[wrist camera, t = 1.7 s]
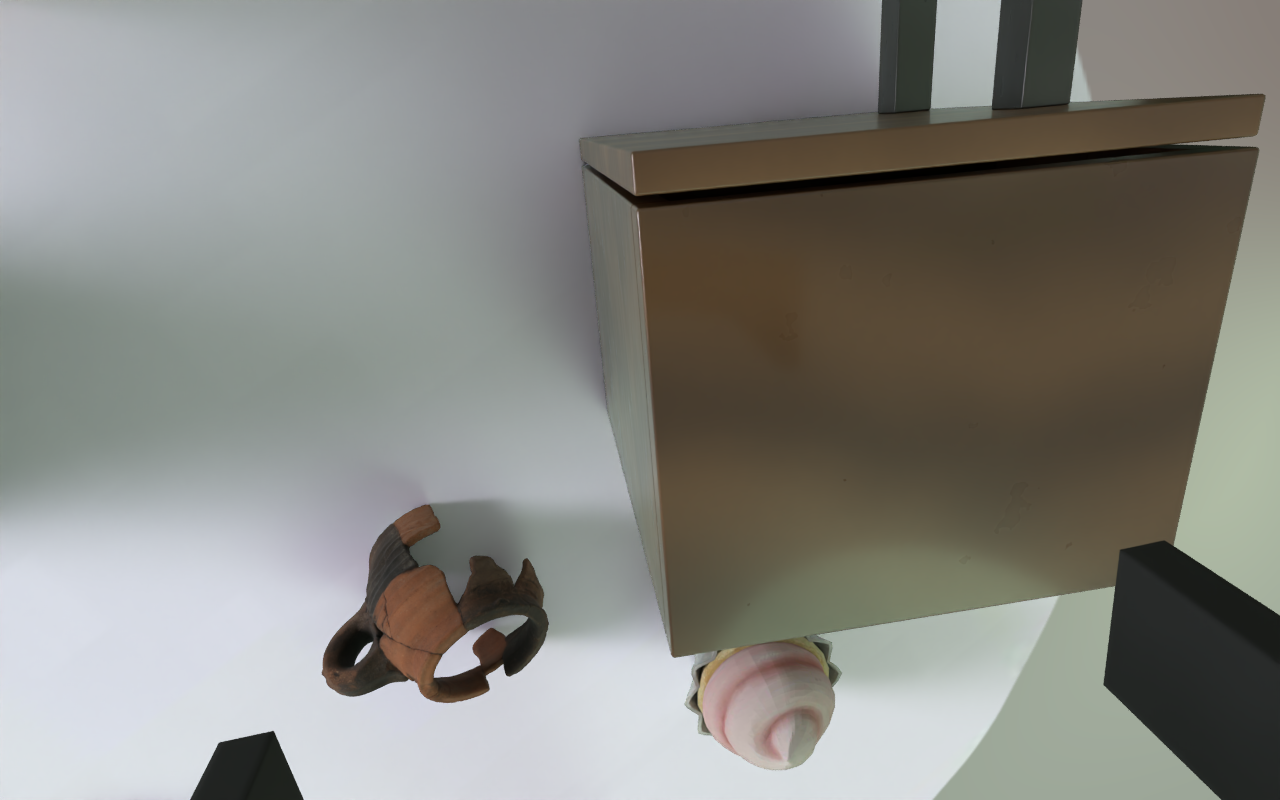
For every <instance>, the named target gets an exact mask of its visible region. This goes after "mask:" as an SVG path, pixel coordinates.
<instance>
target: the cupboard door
mask: <svg viewBox="0 0 1280 800" xmlns="http://www.w3.org/2000/svg"><path fill="white" fill-rule="evenodd" d="M1081 7H1082V0H1001V9H1000V21H999V32H998V43H997V54H996V66H995V77H994V88H993V99H992V106H979V107H957V108H935V109H930V108H931V92H932V75H933V59H934V42H935V26H936V9H937V0H882V15H881V43H880V70H879V98H878V112H871V113H860V114H848V115H837V116H826V117H815V118H803V119H792V120H781V121H769V122H758V123H747V124H736V125H724V126H713V127H702V128H690V129H679V130H668V131H656V132H645V133H634V134H623V135H611V136H600V137H589V138H580V139H579V143H580V153H581V159H582V160H583V161H584V162H586V163H587V164H589V165H590V166H592V167H593V168H595V169H596V170H598V171H599V172H601V173H602V174H604V175H605V176H607V177H608V178H610V179H611V180H613V181H614V182H615V183H617V184H618V185H620V186H621V187H623V188H624V189H626V190H627V191H629V192H630V193H632V194H633V195H635V196H645V195H655V194H666V193H676V192H686V191H697V190H707V189H717V188H727V187H738V186H748V185H758V184H768V183H779V182H789V181H799V180H810V179H820V178H830V177H840V176H851V175H861V174H871V173H881V172H892V171H902V170H912V169H923V168H933V167H943V166H953V165H964V164H974V163H984V162H995V161H1005V160H1015V159H1025V158H1036V157H1046V156H1056V155H1066V154H1077V153H1087V152H1097V151H1108V150H1118V149H1128V148H1138V147H1149V146H1159V145H1169V144H1178V143H1189V142H1199V141H1209V140H1221V139H1230V138H1240V137H1251V136H1255V135H1257V133H1258V130H1259V125H1260V120H1261V116H1262V111H1263V106H1264V102H1265V95H1263V94H1247V95H1226V96H1225V95H1224V96H1203V97H1202V96H1201V97H1180V98H1157V99H1137V100H1136V99H1135V100H1114V101H1090V102H1070V96H1071V88H1072V80H1073V72H1074V64H1075V55H1076V47H1077V39H1078V31H1079V23H1080V15H1081Z"/></svg>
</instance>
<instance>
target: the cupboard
mask: <svg viewBox="0 0 1280 800" xmlns="http://www.w3.org/2000/svg"><path fill="white" fill-rule="evenodd" d="M1258 154H1259V148H1256V147H1240V146H1207V145H1206V146H1205V145H1171V144H1169V145H1159V146H1149V147H1138V148H1128V149H1118V150H1108V151H1097V152H1087V153H1077V154H1066V155H1056V156H1046V157H1036V158H1025V159H1015V160H1005V161H995V162H984V163H974V164H964V165H953V166H943V167H933V168H923V169H912V170H902V171H892V172H881V173H871V174H861V175H851V176H840V177H830V178H820V179H810V180H799V181H789V182H779V183H768V184H758V185H748V186H738V187H727V188H717V189H707V190H697V191H686V192H676V193H666V194H655V195H645V196H635V195H633V194H632V193H630V192H629V191H627V190H626V189H624V188H623V187H621V186H620V185H618V184H617V183H615V182H614V181H613V180H611V179H610V178H608V177H607V176H605V175H604V174H602V173H601V172H599V171H598V170H596V169H595V168H593V167H592V166H590V165H583V166H582V174H583V183H584V193H585V202H586V212H587V221H588V231H589V241H590V250H591V260H592V269H593V279H594V288H595V298H596V307H597V317H598V327H599V336H600V346H601V355H602V365H603V374H604V384H605V394H606V403H607V412H608V416H609V419H610V423H611V427H612V431H613V435H614V438H615V442H616V446H617V450H618V454H619V458H620V461H621V465H622V469H623V473H624V477H625V480H626V484H627V488H628V492H629V496H630V499H631V503H632V507H633V511H634V515H635V518H636V522H637V526H638V530H639V534H640V537H641V541H642V545H643V549H644V553H645V556H646V560H647V564H648V568H649V572H650V575H651V579H652V583H653V587H654V591H655V595H656V598H657V602H658V606H659V610H660V614H661V617H662V621H663V625H664V629H665V633H666V635H667V640H668V644H669V648H670V651H671V655H672V657H674V658H676V657H682V656H688V655H694V654H700V653H707V652H713V651H719V650H725V649H731V648H737V647H743V646H750V645H756V644H762V643H768V642H774V641H780V640H787V639H793V638H799V637H805V636H811V635H817V634H824V633H830V632H836V631H842V630H848V629H854V628H861V627H867V626H873V625H879V624H885V623H891V622H898V621H904V620H910V619H916V618H922V617H928V616H934V615H941V614H947V613H953V612H959V611H965V610H971V609H978V608H984V607H990V606H996V605H1002V604H1008V603H1015V602H1021V601H1027V600H1033V599H1039V598H1045V597H1052V596H1058V595H1064V594H1070V593H1076V592H1082V591H1088V590H1094V589H1100V588H1106V587H1113V586H1115V585H1116V577H1117V569H1118V561H1119V552H1120V550H1121V549H1126V548H1130V547H1135V546H1140V545H1144V544H1149V543H1154V542H1158V541H1163V540H1165V541H1167V542H1168V543H1170V544H1171V545H1174V540H1175V536H1176V531H1177V527H1178V522H1179V517H1180V513H1181V508H1182V503H1183V499H1184V494H1185V490H1186V485H1187V481H1188V476H1189V471H1190V467H1191V462H1192V457H1193V453H1194V448H1195V444H1196V439H1197V435H1198V430H1199V425H1200V421H1201V416H1202V412H1203V407H1204V402H1205V397H1206V393H1207V389H1208V384H1209V380H1210V375H1211V370H1212V365H1213V361H1214V356H1215V351H1216V347H1217V343H1218V338H1219V333H1220V329H1221V324H1222V320H1223V315H1224V310H1225V306H1226V301H1227V296H1228V292H1229V287H1230V283H1231V278H1232V274H1233V269H1234V264H1235V260H1236V255H1237V251H1238V246H1239V241H1240V237H1241V232H1242V227H1243V223H1244V219H1245V214H1246V209H1247V205H1248V200H1249V196H1250V191H1251V186H1252V182H1253V177H1254V173H1255V168H1256V163H1257V158H1258Z"/></svg>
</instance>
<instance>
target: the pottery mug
mask: <svg viewBox="0 0 1280 800" xmlns="http://www.w3.org/2000/svg"><path fill="white" fill-rule="evenodd" d="M439 529H440V523H439V520H438V518H437V517H436V516H434V512H433V510H432V508H431V506H430V505H423V506H421V507H418V508H415V509H413V510H412V511H410V512H408V513H406V514H404V515H403V516H402V517H400V518H399V519H397V520H396V521H395V522H394V523H393V524H391V525H390V526H388V527H387V528H386V530H385V531H384V532H383V533H382V534H381V535H380V536H379V537H378V539H377V541H376V542H375V544H374V546H373V547H372V550H371V553H370V557H369V577H368V584H367V589H366V592H367V596H366V598H365V602H364V603H363V605H362V607H361V609H360V610H359V611H358V612H357V613H356V614H355V615H354V616H353V617H352V618H351V619H350V620H349V621H347V622H346V623H345V624H344V625H343V626H342V627H341V628H340V629H339V630H338V631H337V633H336V634H335V635H334V636H333V638H332V639H331V641H330V643H329V644H328V646H327V648H326V650H325V653H324V657H323V670H322V675H323V676H324V677H325V678H326V683H327V685H328V686H329V687H330V688H332V689H333V690H335V691H336V692H338V693H339V694H342V695H346V696H353V697H354V696H360V695H364V694H367V693H370V692H372V691H374V690H376V689H378V688H380V687H383V686H385V685H387V684H389V683H393V682H405V681H407V680H408V679H410V680H411V681H415V682H416V683H417V684H418V687H419V690H420V692H421V693H422V694H423V695H424V697H426V698H427V699H430V700H432V701H435V702H443V703H454V702H457V701H464V700H468V699H471V698H474V697H477V696H480V695H482V694H484V693H486V692H488V691H489V684H488V681H487V679H486V675H488V674H489V673H491V672H493V671H494V670H496V669H497V668H499V667H500V666H501V665H502V664H504V670H505V673H506V675H507V676H512V675H513V674H516V673H518V672H519V671H521V670H522V669H523V668H524V667H525V666H526V665H527V664H528V663H529V662H530V661H531V660H532V658H533V657H534V656H535V655H536V654H537V653H538V651H539V649H540V648H541V646H542V645H543V643H544V640H545V637H546V632H547V630H548V625H549V622H548V618H547V614H546V612H545V611H544V609H542V607H543V598H544V592H543V589H542V587H541V585H540V583H539V581H538V578H537V576H536V574H535V570H534V568H533V566H532V564H531V562H530V561H529V559H524V561H523V566H522V571H521V574H520V575H519V577H518V579H517V581H516V583H515V585H514V584H513V581H512V578H511V576H510V575H509V574H508V573H507V572H506V571H505V570H504V569H502V568H501V567H499V566H498V565H496V563H495V561H494V560H493V559H492V558H491V557H488V556H473V557H471V558H470V560H469V563H470V569H471V572H472V574H471V576H470V577H469V581H468V583H467V587H466V589H465V592H464V594H463V595H462V597H461V599H460V601H459V603H458V604H457V603H456V602H455V600H454V598H453V596H452V594H451V592H450V590H449V587H448V585H447V582H446V577H445V574H444V573H443V571H441V570H439V568H437V567H436V566H433V565H425V566H422V567H419V566H418V564H417V562H416V561H415V560H414V559H413V557H412V556H411V555H410V551H409V548H410V547H411V546H413V545H414V544H415V543H417V542H418V541H420V540H422V539H423V538H425V537H427V536H429V535H430V534H433V533H435V532H437V531H438V530H439ZM510 615H524V616H526V617H529V618H528V619H527V621H526V622H525V623H524V624H523V625H522V626H520V627H519V628H517V629H516V630H514V631H513V632H512V633H510V634H509V635H507V636H506V637H505V635H504V634H502V633H501V632H499V631H497V630H495V629H493V628H490V629H488V630H487V631H486V632H485V633H484V634H483V635H481V636H480V637H479V638H478V640H477V641H476V642H475V643H474V645H473V652H474V654H475V655H476V656H477V657H478V658H479V660H480V664H481V665H480V666H477V667H476V668H474V669H471V670H469V671H466V672H464V673H461V674H458V675H455V676H452V677H440V678H434V671H435V669H436V666H437V664H438V662H439V661H440V659H441V657H442V655H443V654H444V653H445V652H446V651H447V650H448V649H449V648H450V647H451V646H452V645H453V644H454V643H455V642H456V641H458V640H459V639H460V638H461V637H462V636H463V635H465V634H466V633H467V632H468V631H469V630H472V629H474V628H476V627H478V626H480V625H482V624H484V623H486V622H488V621H490V620H493V619H496V618H500V617H505V616H510ZM370 642H373V644H372V646H371V648H370V650H369V652H368V654H367V655H366V656H365V657H364V658H363V659H362V660H361V661H360V662H359V663H357V664H356V665H354V664H355V660H356V658H357V656H358V654H359V653H360V651H361V650H362V649H363V647H364V646H365V645H367V644H368V643H370Z"/></svg>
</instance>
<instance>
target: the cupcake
mask: <svg viewBox="0 0 1280 800" xmlns="http://www.w3.org/2000/svg"><path fill="white" fill-rule="evenodd" d="M831 652H832V642H830V641H827V640H825V639H823V638H821V637H819V636H817V635H811V636H805V637H799V638H793V639H787V640H780V641H774V642H768V643H762V644H756V645H750V646H743V647H737V648H731V649H725V650H719V651H713V652H707V653H700V654H695V662H694V665H693V667H692V677H693V681H692V684H691V687H690V689H689V692H688V695H687V698H686V701H685V706H686V707H687V708H688V709H690V710H691V711H693V712H694V713H696V714H698V715H699V718H698V733H699V734H702V735H711V736H713V737H714V738H715V740H717V741H718V742H719V743H720V744H721V745H722V746H723V747H725V748H726V749H728V750H729V751H731V752H733V753H734V754H736V755H739V756H741V757H742V758H743V759H745V760H746V761H748V762H749V763H751V764H753V765H755V766H758V767H761V768H764V769H769V770H787V769H790V768H794V767H797V766H799V765H801V764H803V763H804V762H805V761H806V760H807V759H808V758H809V757H810V756H811V755H812V753H813V751H814V748H815V745H816V744H817V742H818V741H819V739H820V738H821V736H822V735H823V733H824V732H825V730H826V729H827V727H828V725H829V723H830V720H831V717H832V714H833V711H834V708H835V694H834V691H833V688H832V687H833V686H834V685H835V684H836V683H837V681H838V680H839V678H840V676H841V674H842V672H841V671H840V669H839V668H838V667H837V666H835V665H834V664H833V663H831V662H830V657H831Z"/></svg>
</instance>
